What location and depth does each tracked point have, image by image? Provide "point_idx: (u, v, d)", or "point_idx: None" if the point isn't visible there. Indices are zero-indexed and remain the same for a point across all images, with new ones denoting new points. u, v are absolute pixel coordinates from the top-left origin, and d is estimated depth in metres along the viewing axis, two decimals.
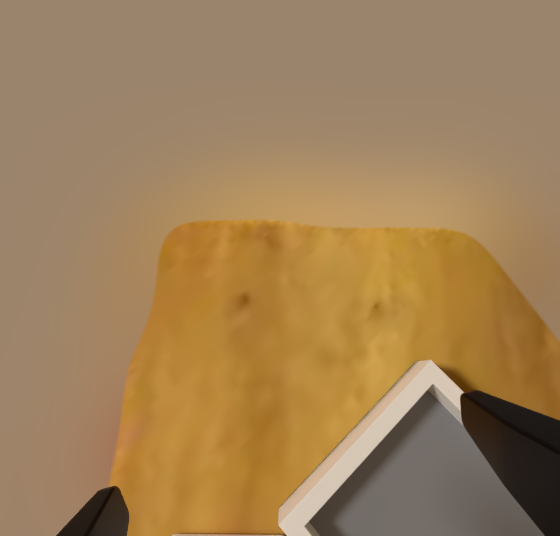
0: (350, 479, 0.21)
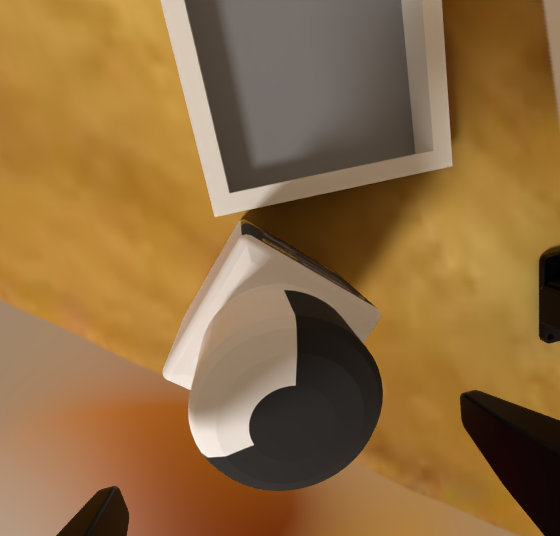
0: (228, 125, 0.18)
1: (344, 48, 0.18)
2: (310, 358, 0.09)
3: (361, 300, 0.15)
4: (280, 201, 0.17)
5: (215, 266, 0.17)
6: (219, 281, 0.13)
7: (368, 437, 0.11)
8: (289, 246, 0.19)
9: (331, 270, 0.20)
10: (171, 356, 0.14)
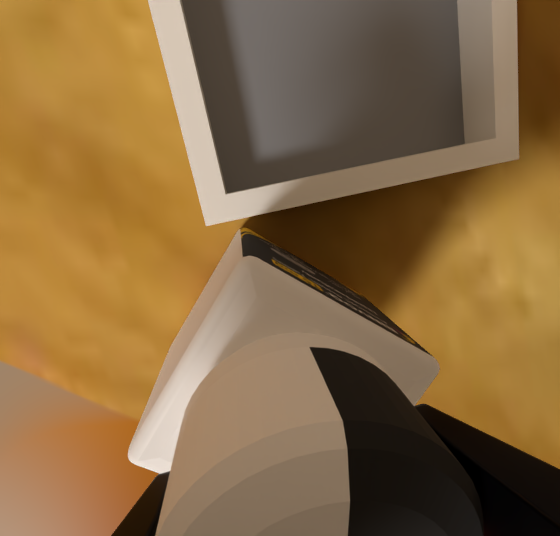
0: (224, 104, 0.14)
1: (378, 2, 0.14)
2: (374, 509, 0.05)
3: (413, 347, 0.10)
4: (293, 205, 0.13)
5: (207, 291, 0.13)
6: (209, 325, 0.09)
7: None
8: (303, 262, 0.15)
9: (356, 292, 0.16)
10: (140, 431, 0.10)
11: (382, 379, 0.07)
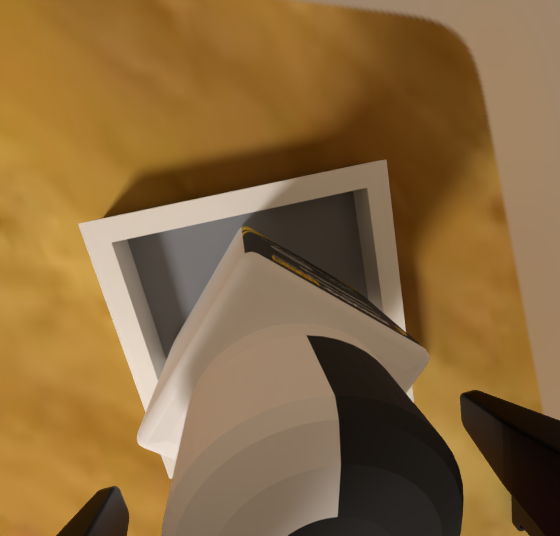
0: None
1: None
2: (362, 472, 0.06)
3: (404, 338, 0.11)
4: None
5: (209, 287, 0.14)
6: (213, 316, 0.10)
7: None
8: (302, 260, 0.16)
9: (352, 288, 0.17)
10: (148, 416, 0.10)
11: (373, 364, 0.08)
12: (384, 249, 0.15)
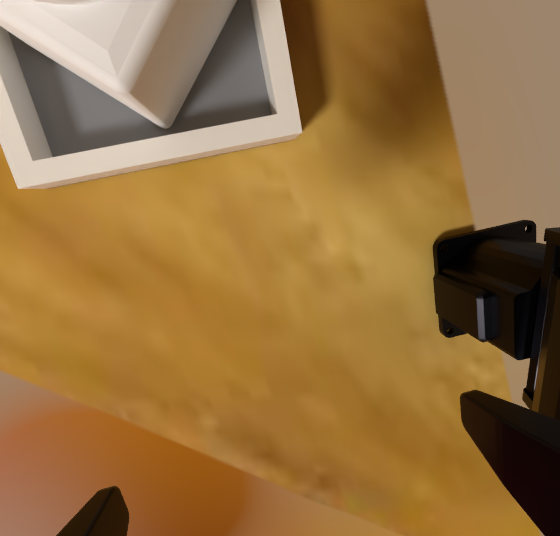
0: (43, 85, 0.16)
1: None
2: None
3: None
4: (96, 171, 0.15)
5: None
6: None
7: None
8: None
9: None
10: None
11: None
12: None
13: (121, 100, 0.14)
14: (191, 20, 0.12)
